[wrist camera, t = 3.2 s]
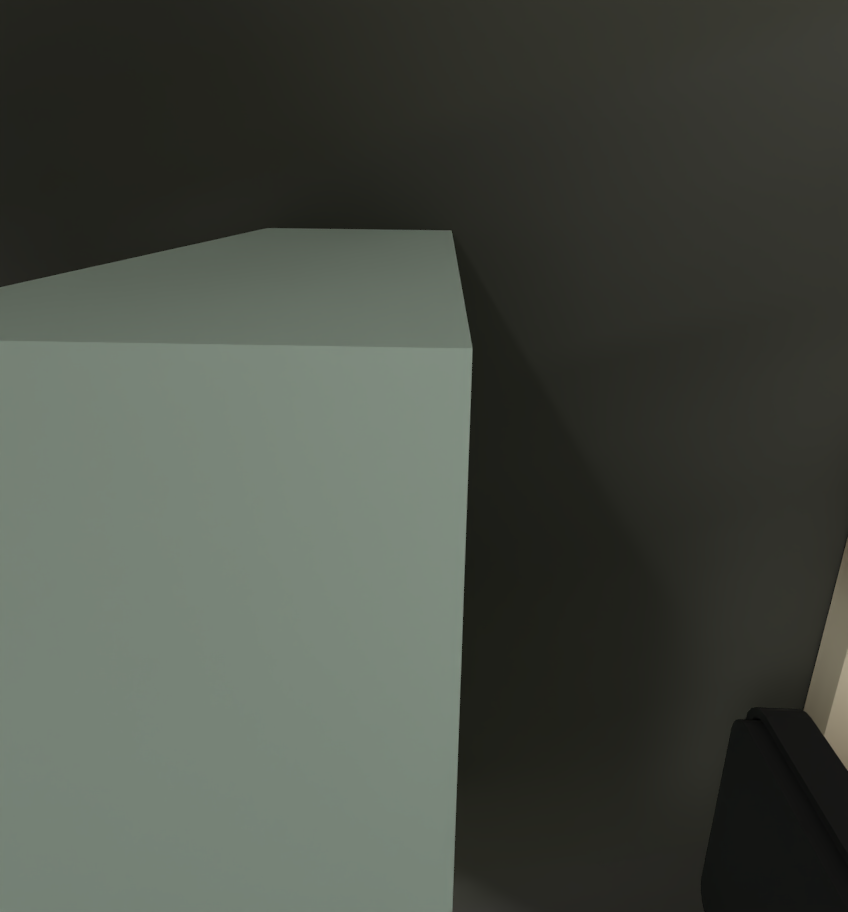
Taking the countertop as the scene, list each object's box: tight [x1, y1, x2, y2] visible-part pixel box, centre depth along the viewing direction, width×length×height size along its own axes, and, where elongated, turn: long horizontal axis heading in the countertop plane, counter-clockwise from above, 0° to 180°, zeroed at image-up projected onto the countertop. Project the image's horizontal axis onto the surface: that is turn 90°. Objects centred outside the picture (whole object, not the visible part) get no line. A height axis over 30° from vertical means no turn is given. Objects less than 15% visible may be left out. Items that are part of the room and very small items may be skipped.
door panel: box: [0, 228, 473, 912], centre depth 9 cm, size 12×3×9 cm, turn 179°
